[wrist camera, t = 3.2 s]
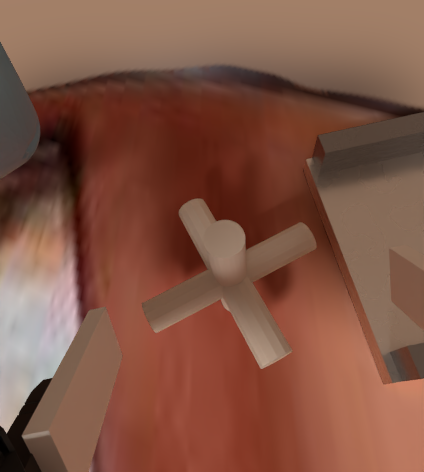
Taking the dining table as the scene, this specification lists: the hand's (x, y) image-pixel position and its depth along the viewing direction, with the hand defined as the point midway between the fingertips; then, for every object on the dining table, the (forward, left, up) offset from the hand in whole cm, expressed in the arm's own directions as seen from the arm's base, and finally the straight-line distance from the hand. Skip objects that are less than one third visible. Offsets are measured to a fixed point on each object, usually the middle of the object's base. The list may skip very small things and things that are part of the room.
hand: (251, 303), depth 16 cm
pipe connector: (-2, +2, -8) cm, 8 cm away
